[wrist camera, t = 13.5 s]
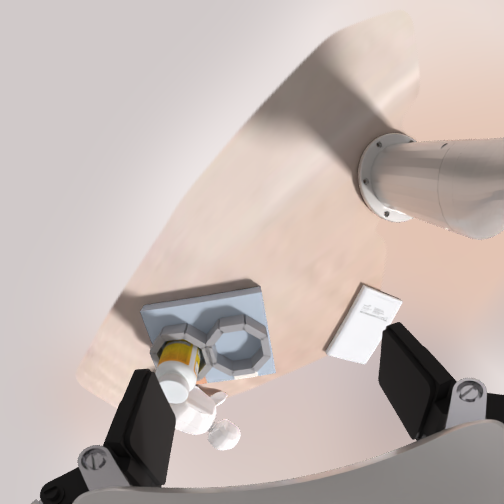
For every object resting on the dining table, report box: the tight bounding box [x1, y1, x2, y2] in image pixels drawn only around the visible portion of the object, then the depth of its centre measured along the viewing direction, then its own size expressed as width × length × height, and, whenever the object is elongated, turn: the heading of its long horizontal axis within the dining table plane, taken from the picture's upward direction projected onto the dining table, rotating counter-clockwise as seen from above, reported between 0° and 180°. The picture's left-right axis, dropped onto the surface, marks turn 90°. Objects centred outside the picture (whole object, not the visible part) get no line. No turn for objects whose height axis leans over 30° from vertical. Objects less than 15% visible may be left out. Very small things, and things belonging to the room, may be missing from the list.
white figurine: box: [169, 386, 241, 450], centre depth 42 cm, size 9×8×15 cm
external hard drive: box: [325, 285, 403, 364], centre depth 43 cm, size 2×8×12 cm
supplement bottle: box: [155, 339, 201, 404], centre depth 35 cm, size 5×5×10 cm
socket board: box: [140, 286, 276, 384], centre depth 40 cm, size 17×14×4 cm
